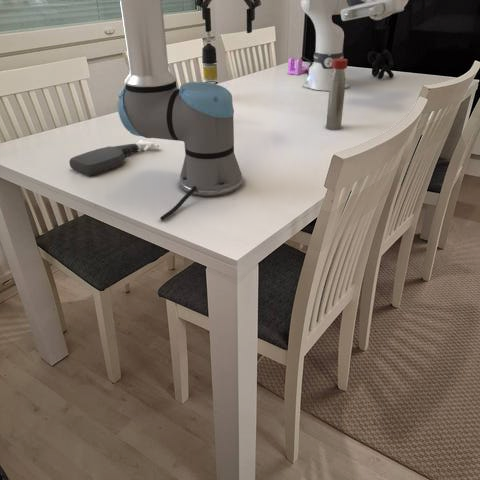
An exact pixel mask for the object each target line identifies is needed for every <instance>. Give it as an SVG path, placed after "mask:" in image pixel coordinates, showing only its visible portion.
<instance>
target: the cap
mask: <svg viewBox="0 0 480 480" xmlns="http://www.w3.org/2000/svg"><path fill="white" fill-rule="evenodd" d="M332 68H333V69H345V70H346V69H347V68H348V59H347V58H344V57H343V58H336V59H333V60H332Z"/></svg>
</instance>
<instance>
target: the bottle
mask: <svg viewBox="0 0 480 480" xmlns="http://www.w3.org/2000/svg"><path fill="white" fill-rule="evenodd" d="M345 83H347V81H346V71H345V72H344V69H334V71H333V74H332V77H331V80H330V87H329V91H328V99H327V109H326V110H327V112H326V122H325V128H326V129H327V130H331V131H332V130H333V131H337V130H341V129H342V122H343V114H344V113H343V111H344V102H345V94H346V88H345Z"/></svg>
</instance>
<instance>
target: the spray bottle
mask: <svg viewBox="0 0 480 480" xmlns="http://www.w3.org/2000/svg"><path fill="white" fill-rule="evenodd" d="M159 148H160V145H159V144H158V143H155V142H151V141H148V140H144V139H139V140H138V141H137V142H135V143H129V144H128V143H126V144H122V145H113V146H105V147H100V148H97V149H94V150H90V151H87V152H83V153H81V154H78V155H74V156H73V157H70V159H69V161H68V162H69V167H70V168H71V169H72V170H74V171H75V172H78V173H81V174H83V175H85V176H89V177H90V176H91V177H92V176H95V175H99V174H102V173H105V172H107V171H110V170H113V169H116V168H118V167H120V166H122V165H123V164H124V163H125V158H126V156H127V155H131V154H133V153H138V151H140V150H143V151H144V152H146V151H147V150H149V149H159Z"/></svg>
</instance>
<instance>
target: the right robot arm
mask: <svg viewBox="0 0 480 480" xmlns="http://www.w3.org/2000/svg"><path fill="white" fill-rule="evenodd" d="M408 2H409V0H300V6H301V9H302V11H303V12H304V13H305V14H306V15H307V16H308V17H309V18H310V20H311V22H312V23H313V26H314V30H315V51H314V53H313V62H312V61H311V60H310V59H308V58H307V57H306V56H301V57H300V59H302V60H303V59H304V60H306V61H307V62H308V63H310V64H309V65H308V67H309V71H308V70H306V72H305V73H306V74H308V77H307V79H306V82H304V84H303V87H304V88H307V89H311V90H316V91H323V92H324V91H325V92H329V87H330V80H331V77H332V74H333V71H334V69H333V68H332V60H333V59H336V58H343V59H344V40H345V33H344V30H343V28H342V27H341V26H339V25H338V24H336V23H334V22H333V18H332V17H333V16H335V15H340V18H341V21H342V22H347V21H351V20H357V19H361V18H367V17H369V18H370V19H372V20H373V21H380V20H382V19H385V18H388V17H389V16H391V15H395V14H397V13H400V12H401V13H402V12H403V11H404V10H405V7H406V6H407V4H408ZM344 72H345V73H346V69H344ZM347 88H349V84H348V83H347V82H345V89H347Z"/></svg>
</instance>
